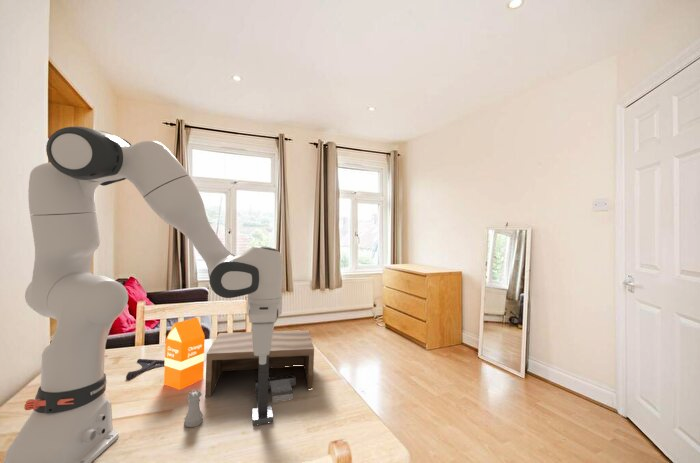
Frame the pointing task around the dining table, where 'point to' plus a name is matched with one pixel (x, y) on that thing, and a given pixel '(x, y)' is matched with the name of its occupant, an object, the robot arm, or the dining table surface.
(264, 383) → the hook tool
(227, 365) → the low cabinet
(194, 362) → the orange juice
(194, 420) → the rook chess piece
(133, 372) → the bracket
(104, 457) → the dining table surface
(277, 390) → the block
